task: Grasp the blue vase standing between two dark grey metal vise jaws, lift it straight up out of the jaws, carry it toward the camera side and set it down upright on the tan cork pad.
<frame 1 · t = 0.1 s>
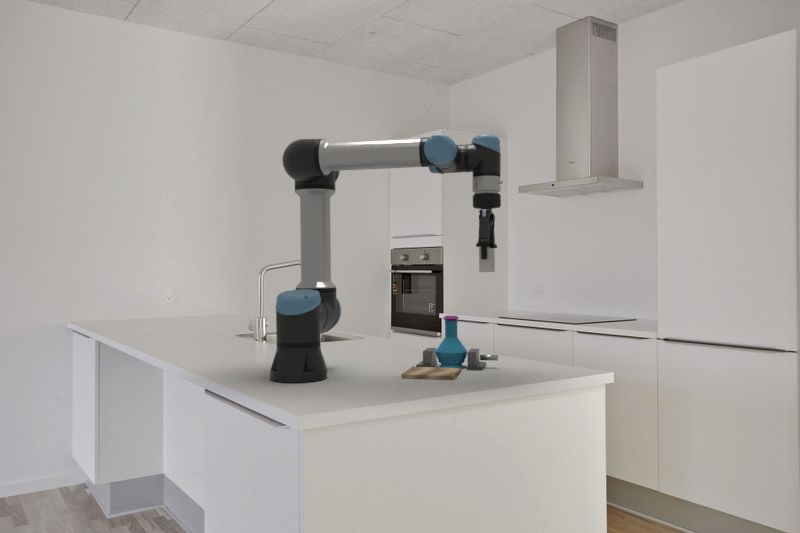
hand: (487, 272, 181), 28 cm above the counter, fingers open, 13 cm apart
blue vase: (451, 367, 197), on the counter
vise: (451, 366, 197), on the counter
pad: (432, 374, 183), on the counter
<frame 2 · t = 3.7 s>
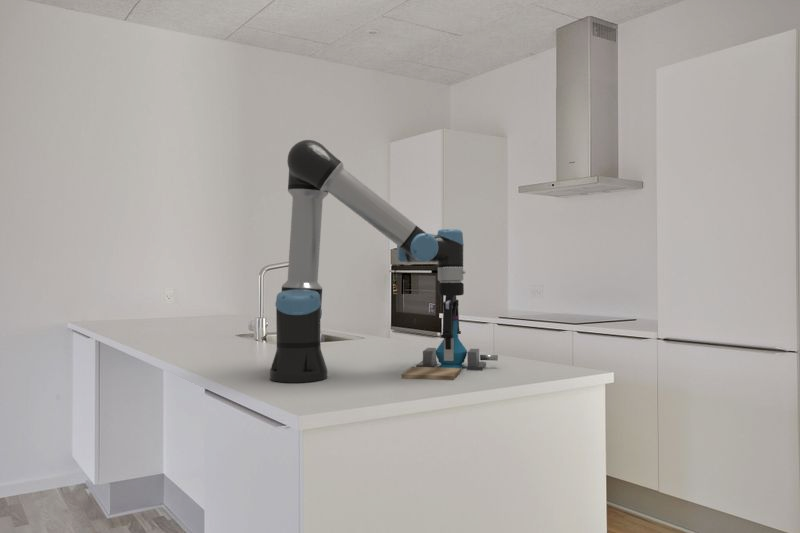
hand: (451, 358, 197), 3 cm above the counter, fingers closed on blue vase, 9 cm apart
blue vase: (451, 367, 197), on the counter, touching gripper
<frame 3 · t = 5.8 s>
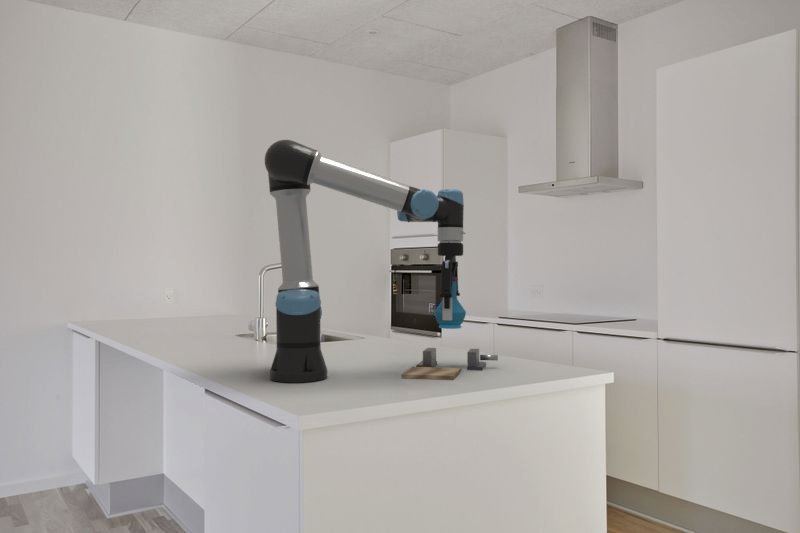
hand: (450, 318, 197), 14 cm above the counter, fingers closed on blue vase, 9 cm apart
blue vase: (450, 328, 197), point 11 cm above the counter, touching gripper
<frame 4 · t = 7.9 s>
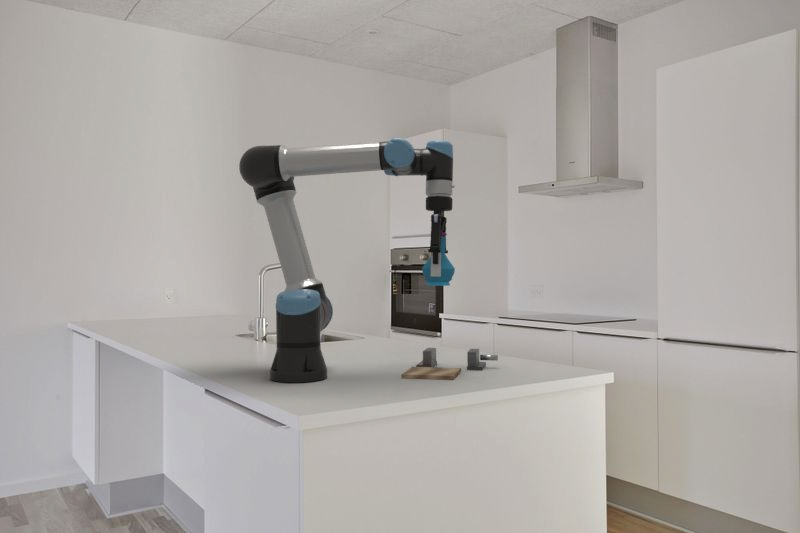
hand: (438, 276, 189), 27 cm above the counter, fingers closed on blue vase, 9 cm apart
blue vase: (438, 285, 189), point 24 cm above the counter, touching gripper
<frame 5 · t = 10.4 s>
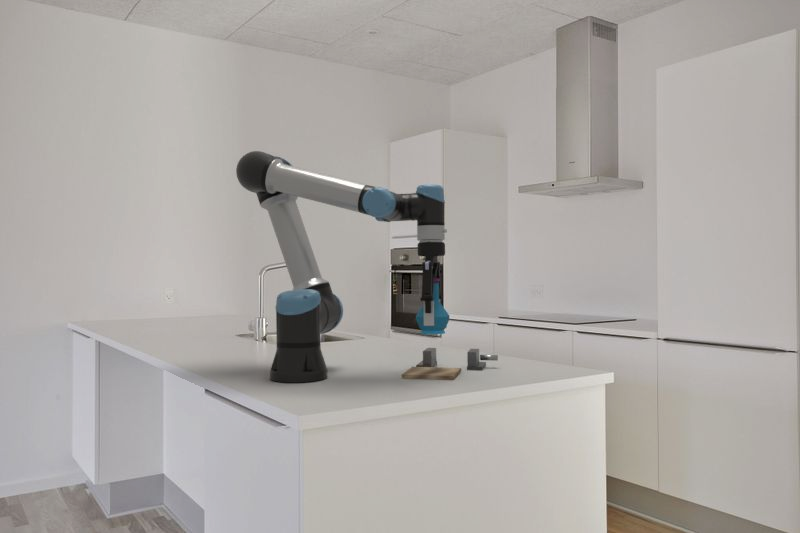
hand: (432, 323, 183), 14 cm above the counter, fingers closed on blue vase, 9 cm apart
blue vase: (432, 333, 183), point 11 cm above the counter, touching gripper
when the fingers open (5 cm above the counter, at t = 12.4 s): blue vase drops 1 cm, resting on pad.
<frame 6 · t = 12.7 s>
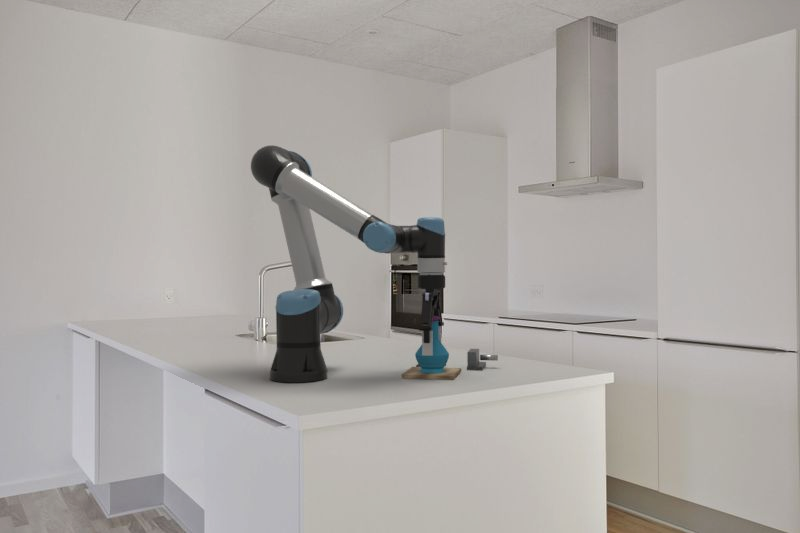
hand: (432, 352, 183), 6 cm above the counter, fingers open, 13 cm apart
blue vase: (432, 371, 183), point 1 cm above the counter, touching pad
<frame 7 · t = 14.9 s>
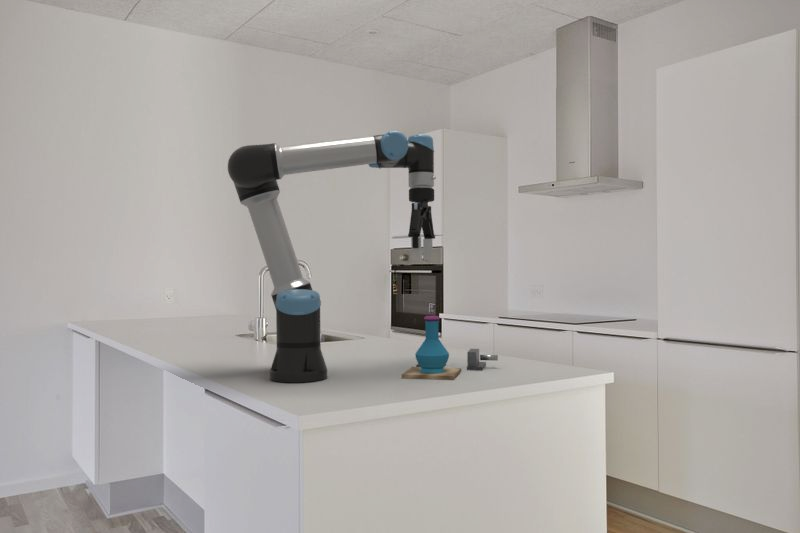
hand: (422, 260, 197), 31 cm above the counter, fingers open, 13 cm apart
nothing on the counter moved.
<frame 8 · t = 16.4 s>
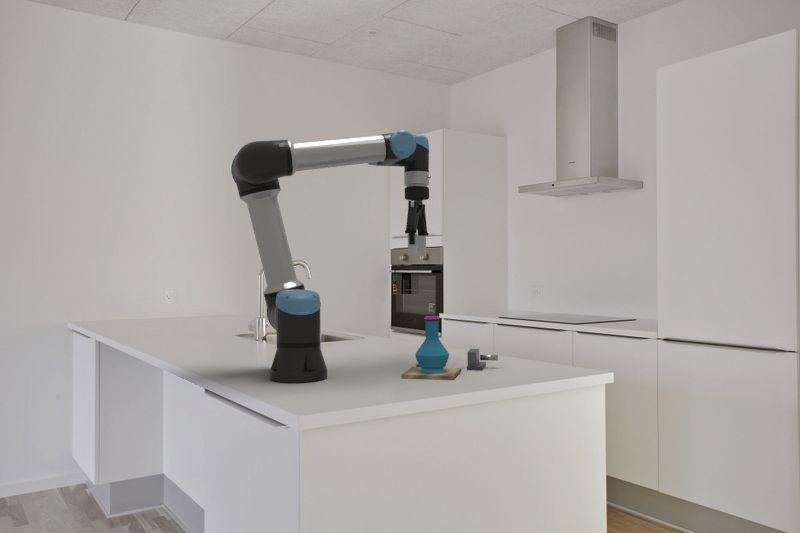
hand: (417, 256, 204), 33 cm above the counter, fingers open, 13 cm apart
nothing on the counter moved.
at the end: blue vase inside the target area on the pad (0.1 cm from its centre), point 0.8 cm above the pad's base; blue vase touching pad; blue vase tilted 0° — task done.
